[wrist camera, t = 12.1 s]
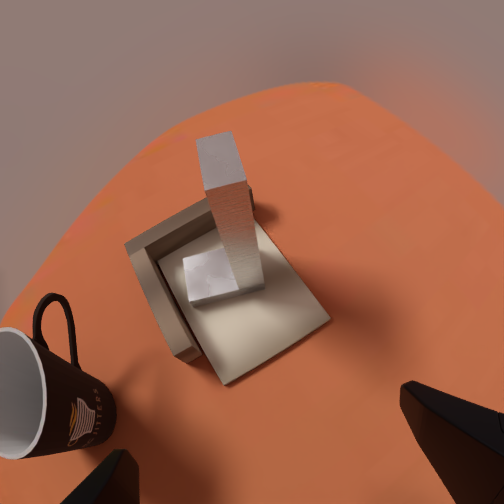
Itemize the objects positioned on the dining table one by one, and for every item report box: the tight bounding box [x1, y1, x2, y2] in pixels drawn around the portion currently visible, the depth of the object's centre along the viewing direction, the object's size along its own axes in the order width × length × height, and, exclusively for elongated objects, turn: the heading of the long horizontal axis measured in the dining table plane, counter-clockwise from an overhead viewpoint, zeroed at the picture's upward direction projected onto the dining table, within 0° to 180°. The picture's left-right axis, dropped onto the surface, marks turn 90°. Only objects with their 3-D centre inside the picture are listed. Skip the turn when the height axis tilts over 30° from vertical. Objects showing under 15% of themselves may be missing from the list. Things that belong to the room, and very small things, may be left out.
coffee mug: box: [0, 293, 117, 459], centre depth 17 cm, size 12×9×10 cm
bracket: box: [183, 131, 265, 307], centre depth 21 cm, size 4×6×12 cm, turn 103°
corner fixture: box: [124, 185, 331, 386], centre depth 25 cm, size 14×12×3 cm
